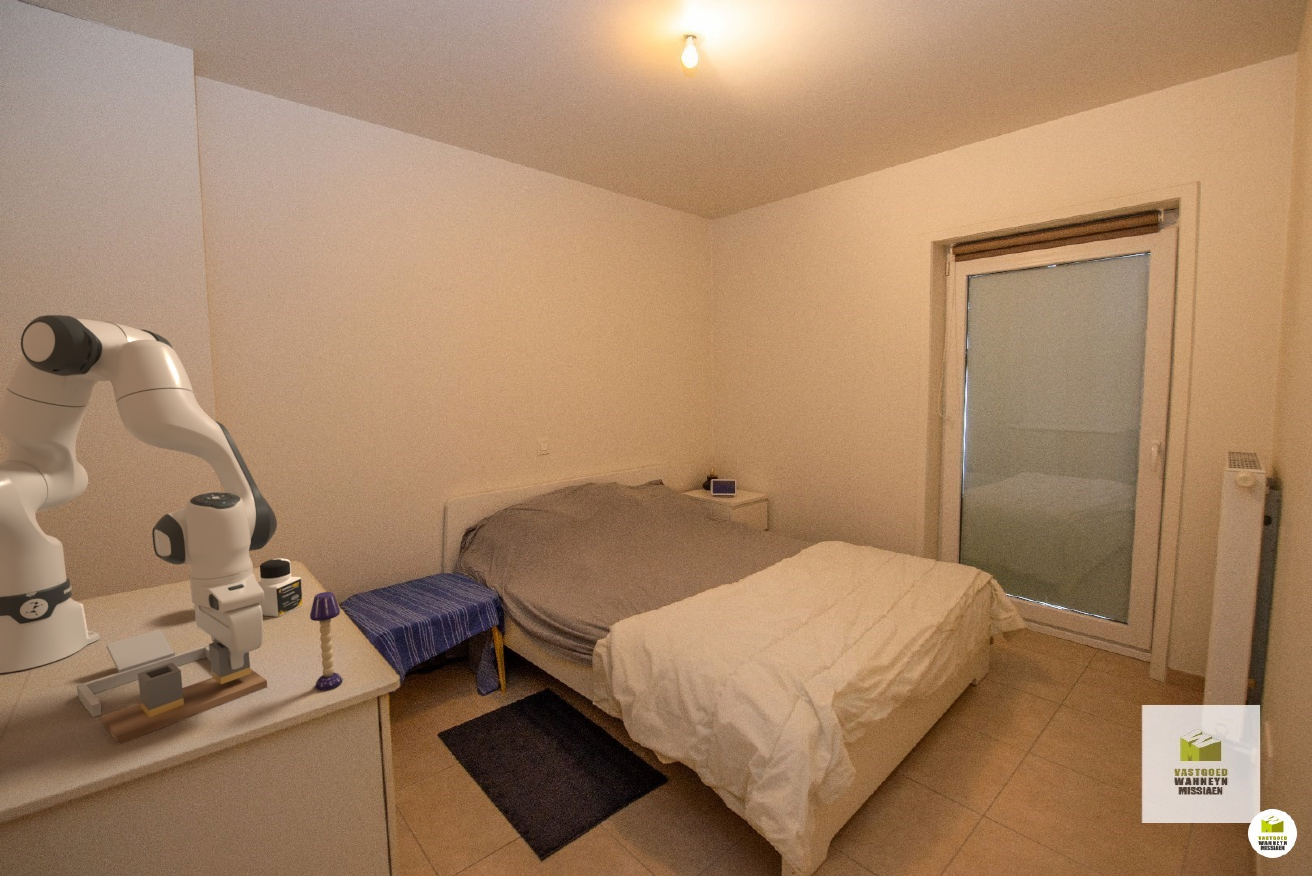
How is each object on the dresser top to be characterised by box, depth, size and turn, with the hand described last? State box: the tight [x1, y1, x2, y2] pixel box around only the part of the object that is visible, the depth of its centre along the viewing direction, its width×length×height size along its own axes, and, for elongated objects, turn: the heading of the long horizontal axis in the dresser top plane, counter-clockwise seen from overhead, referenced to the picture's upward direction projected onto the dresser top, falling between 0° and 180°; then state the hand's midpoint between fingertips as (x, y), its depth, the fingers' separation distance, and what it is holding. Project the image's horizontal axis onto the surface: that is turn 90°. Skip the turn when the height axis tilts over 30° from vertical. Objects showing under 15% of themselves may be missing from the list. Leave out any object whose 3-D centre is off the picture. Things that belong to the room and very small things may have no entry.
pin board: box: [101, 668, 268, 745], centre depth 98 cm, size 9×20×6 cm, turn 144°
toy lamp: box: [309, 591, 343, 692], centre depth 104 cm, size 5×5×17 cm
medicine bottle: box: [257, 558, 303, 618], centre depth 137 cm, size 7×7×12 cm
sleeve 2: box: [208, 641, 251, 684], centre depth 103 cm, size 4×4×6 cm
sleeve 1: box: [137, 663, 184, 717], centre depth 95 cm, size 4×4×6 cm
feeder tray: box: [76, 628, 210, 718], centre depth 107 cm, size 18×19×5 cm
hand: (230, 662), depth 103 cm, fingers closed on sleeve 2, 4 cm apart
